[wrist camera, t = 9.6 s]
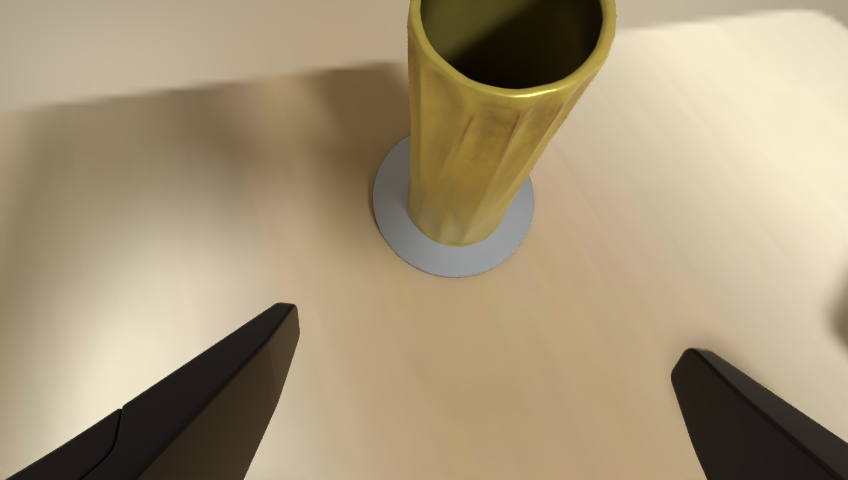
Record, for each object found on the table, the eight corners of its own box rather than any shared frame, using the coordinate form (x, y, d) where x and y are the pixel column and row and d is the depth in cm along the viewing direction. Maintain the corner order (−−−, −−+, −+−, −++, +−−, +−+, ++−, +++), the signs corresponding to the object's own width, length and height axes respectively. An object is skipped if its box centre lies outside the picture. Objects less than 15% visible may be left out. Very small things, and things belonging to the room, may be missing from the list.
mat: (429, 309, 22) (429, 309, 21) (344, 176, 24) (343, 172, 23) (563, 222, 23) (566, 219, 23) (472, 102, 25) (474, 97, 25)
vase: (418, 257, 22) (419, 137, 8) (397, 164, 23) (367, -73, 10) (517, 235, 23) (675, 86, 9) (490, 145, 24) (590, -109, 10)
